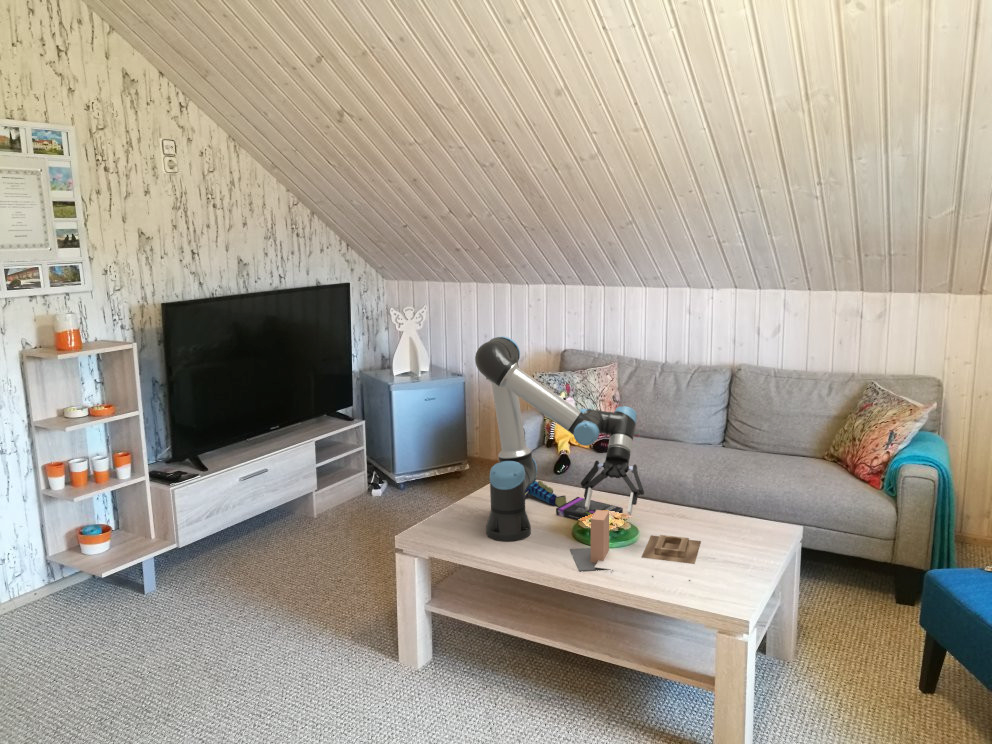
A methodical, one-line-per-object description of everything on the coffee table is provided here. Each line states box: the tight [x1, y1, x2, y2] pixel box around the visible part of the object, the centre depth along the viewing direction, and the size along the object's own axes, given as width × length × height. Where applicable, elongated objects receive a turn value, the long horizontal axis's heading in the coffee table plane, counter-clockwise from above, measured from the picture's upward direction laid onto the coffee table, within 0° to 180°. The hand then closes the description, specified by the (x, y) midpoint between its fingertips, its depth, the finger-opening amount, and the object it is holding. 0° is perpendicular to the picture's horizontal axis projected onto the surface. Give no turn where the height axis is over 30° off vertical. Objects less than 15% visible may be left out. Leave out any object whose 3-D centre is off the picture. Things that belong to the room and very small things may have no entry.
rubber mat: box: [569, 547, 612, 572], centre depth 248 cm, size 16×16×1 cm
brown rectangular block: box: [590, 510, 610, 564], centre depth 247 cm, size 4×8×14 cm, turn 160°
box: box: [555, 496, 624, 521], centre depth 285 cm, size 14×4×20 cm
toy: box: [525, 477, 567, 508], centre depth 300 cm, size 14×25×10 cm, turn 39°
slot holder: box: [641, 534, 702, 565], centre depth 251 cm, size 16×18×4 cm
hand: (607, 510), depth 251 cm, fingers open, 13 cm apart
